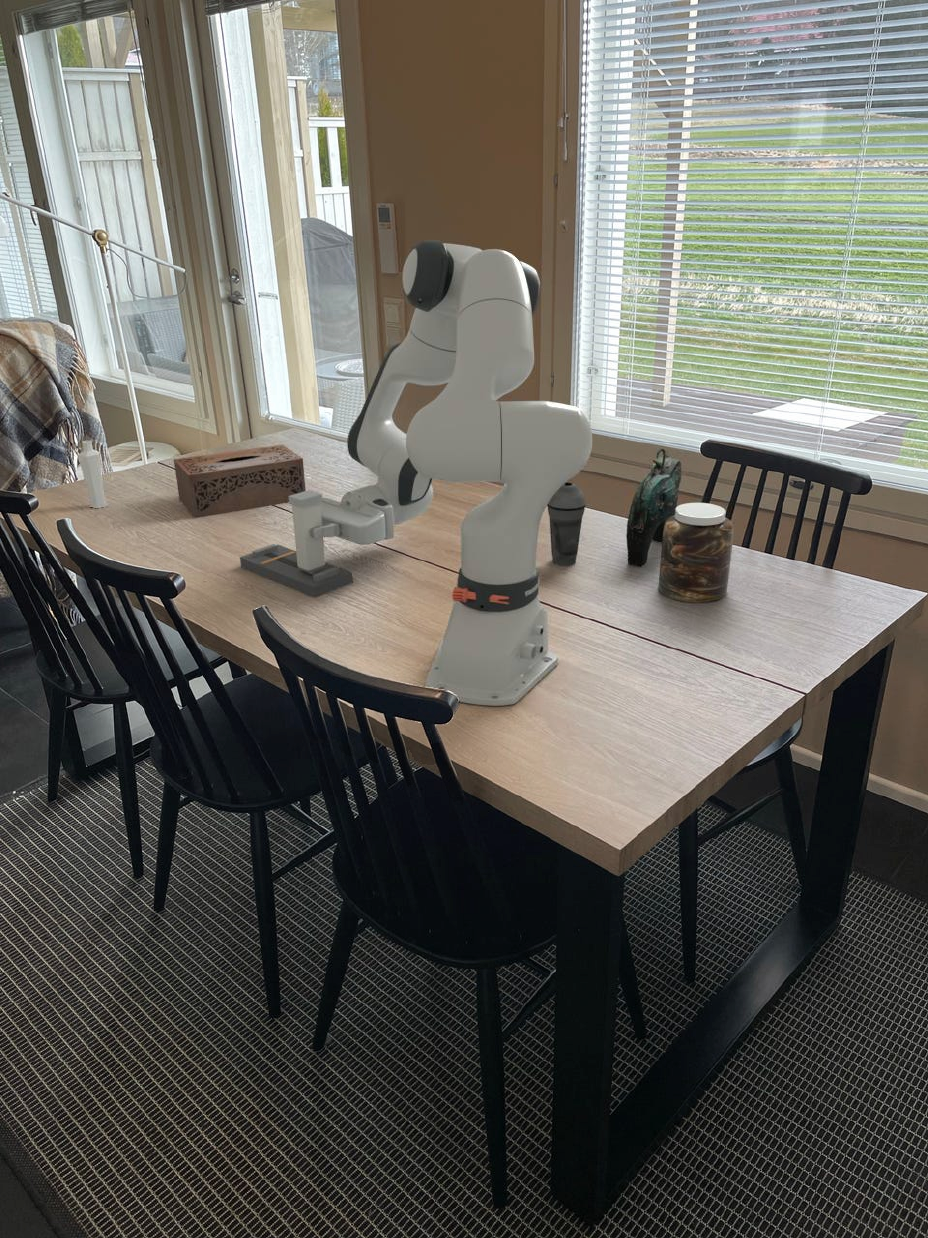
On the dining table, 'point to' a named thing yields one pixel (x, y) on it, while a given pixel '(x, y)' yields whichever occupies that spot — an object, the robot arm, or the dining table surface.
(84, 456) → the perfume bottle
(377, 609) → the dining table surface
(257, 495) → the tissue box cover
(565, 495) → the beverage cup
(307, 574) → the fader console
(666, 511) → the dark green arched sculpture
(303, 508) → the fader tab
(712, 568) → the jar
